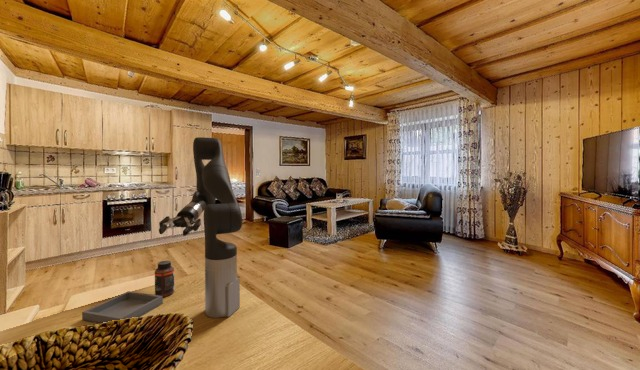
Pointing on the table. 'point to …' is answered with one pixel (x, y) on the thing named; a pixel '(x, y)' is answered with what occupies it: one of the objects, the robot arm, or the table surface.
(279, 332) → the table surface
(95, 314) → the tray
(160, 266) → the supplement bottle
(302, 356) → the table surface
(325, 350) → the table surface
